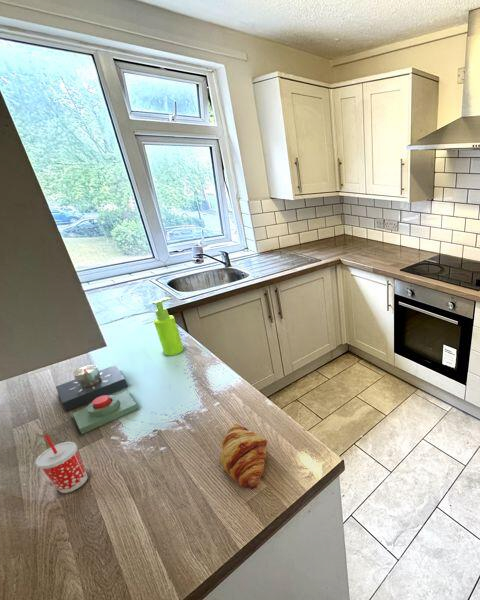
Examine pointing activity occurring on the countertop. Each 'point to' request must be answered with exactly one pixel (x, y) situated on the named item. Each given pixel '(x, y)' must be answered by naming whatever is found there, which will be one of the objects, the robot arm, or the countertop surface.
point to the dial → (87, 376)
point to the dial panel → (91, 388)
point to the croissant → (243, 456)
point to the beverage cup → (62, 466)
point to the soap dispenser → (167, 329)
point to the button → (101, 401)
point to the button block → (104, 412)
